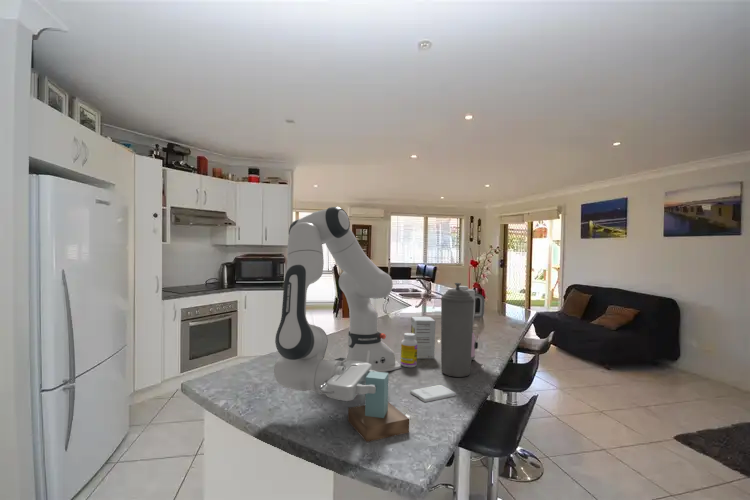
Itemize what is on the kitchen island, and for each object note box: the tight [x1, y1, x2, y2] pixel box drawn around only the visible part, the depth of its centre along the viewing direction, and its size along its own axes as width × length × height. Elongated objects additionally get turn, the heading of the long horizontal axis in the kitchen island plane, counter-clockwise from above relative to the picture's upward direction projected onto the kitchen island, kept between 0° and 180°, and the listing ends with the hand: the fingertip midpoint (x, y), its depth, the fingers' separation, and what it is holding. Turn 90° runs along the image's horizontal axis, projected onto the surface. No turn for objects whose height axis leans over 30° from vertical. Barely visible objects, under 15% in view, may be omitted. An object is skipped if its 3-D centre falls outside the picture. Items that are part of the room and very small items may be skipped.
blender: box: [447, 285, 485, 361], centre depth 159 cm, size 16×12×32 cm
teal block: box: [364, 371, 389, 418], centre depth 96 cm, size 5×5×10 cm
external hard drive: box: [409, 384, 457, 403], centre depth 119 cm, size 2×8×12 cm
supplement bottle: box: [400, 332, 418, 368], centre depth 149 cm, size 7×7×13 cm
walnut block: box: [347, 401, 410, 443], centre depth 96 cm, size 12×12×4 cm
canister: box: [440, 282, 474, 378], centre depth 141 cm, size 13×13×35 cm
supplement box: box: [410, 316, 436, 359], centre depth 164 cm, size 10×9×17 cm
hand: (380, 382), depth 96 cm, fingers open, 8 cm apart
